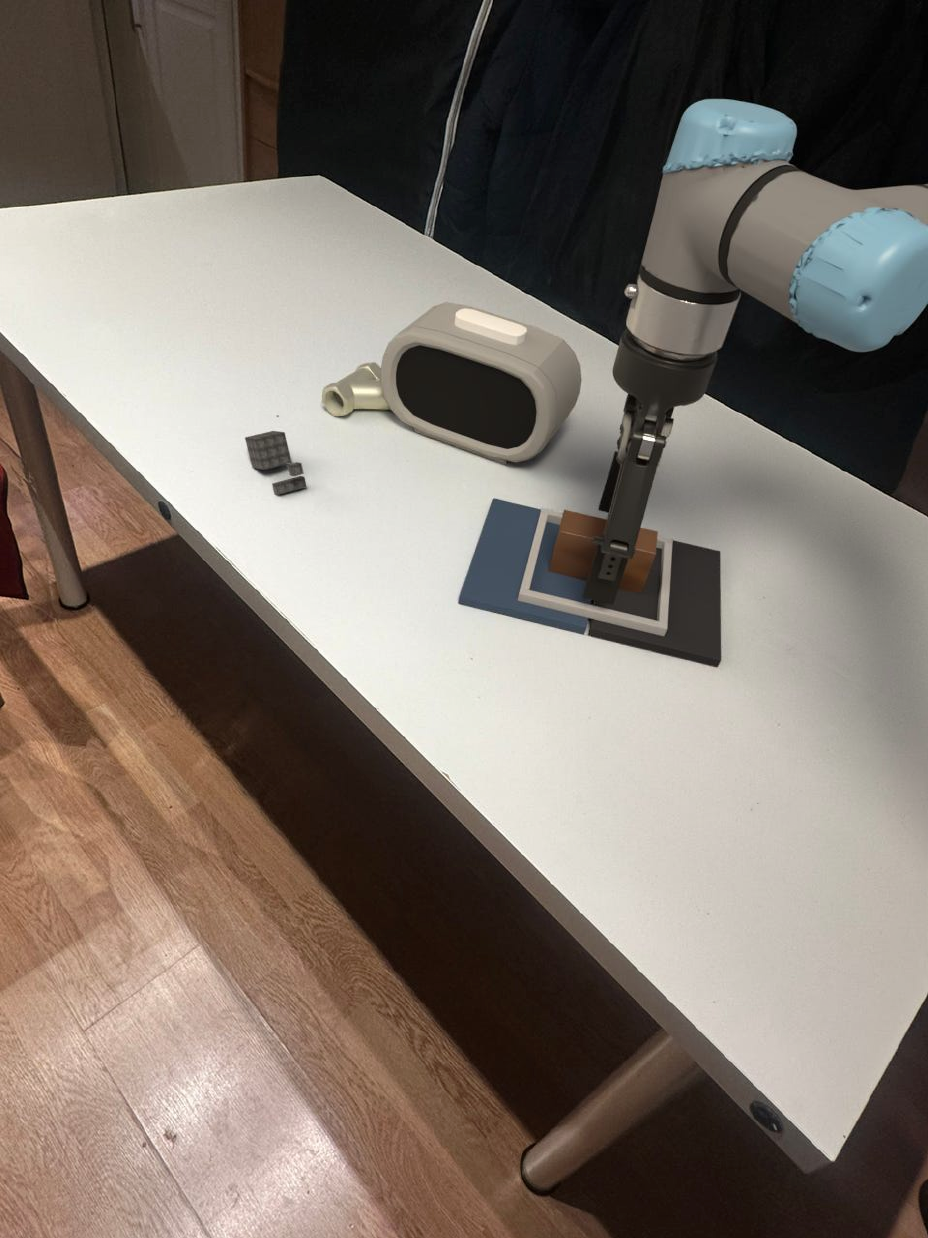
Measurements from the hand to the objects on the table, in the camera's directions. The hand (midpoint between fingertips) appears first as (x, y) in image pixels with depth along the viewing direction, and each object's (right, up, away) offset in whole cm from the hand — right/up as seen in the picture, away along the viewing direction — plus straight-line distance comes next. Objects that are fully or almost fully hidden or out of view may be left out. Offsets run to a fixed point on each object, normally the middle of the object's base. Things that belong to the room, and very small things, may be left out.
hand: (605, 552), depth 77 cm
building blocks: (-33, +8, +8) cm, 35 cm away
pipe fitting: (-25, +19, +20) cm, 37 cm away
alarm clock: (-12, +15, +19) cm, 27 cm away
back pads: (-1, -2, +3) cm, 4 cm away
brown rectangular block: (-1, -2, +2) cm, 3 cm away
